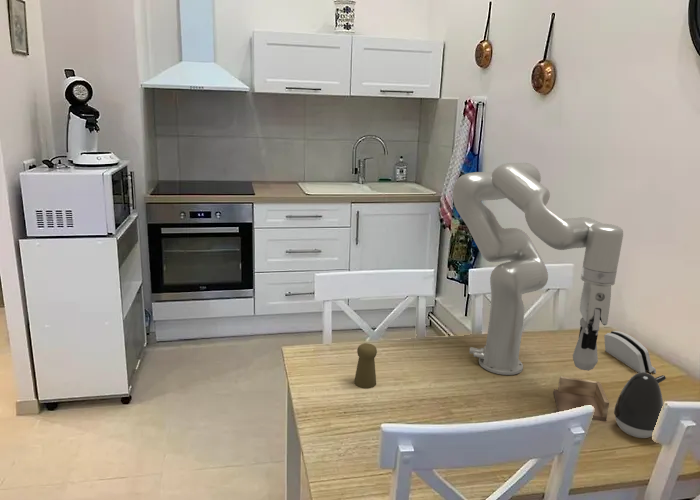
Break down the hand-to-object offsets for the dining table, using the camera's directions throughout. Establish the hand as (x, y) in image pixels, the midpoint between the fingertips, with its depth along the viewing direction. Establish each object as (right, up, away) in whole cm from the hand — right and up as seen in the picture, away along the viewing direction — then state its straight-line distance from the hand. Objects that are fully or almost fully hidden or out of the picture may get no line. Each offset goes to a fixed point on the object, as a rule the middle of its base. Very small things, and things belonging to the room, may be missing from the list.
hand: (586, 345), depth 135 cm
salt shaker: (0, -6, +1) cm, 6 cm away
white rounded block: (+26, -11, +31) cm, 42 cm away
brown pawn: (-55, -12, +11) cm, 57 cm away
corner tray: (0, -17, +4) cm, 17 cm away
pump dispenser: (+9, -20, -6) cm, 23 cm away
